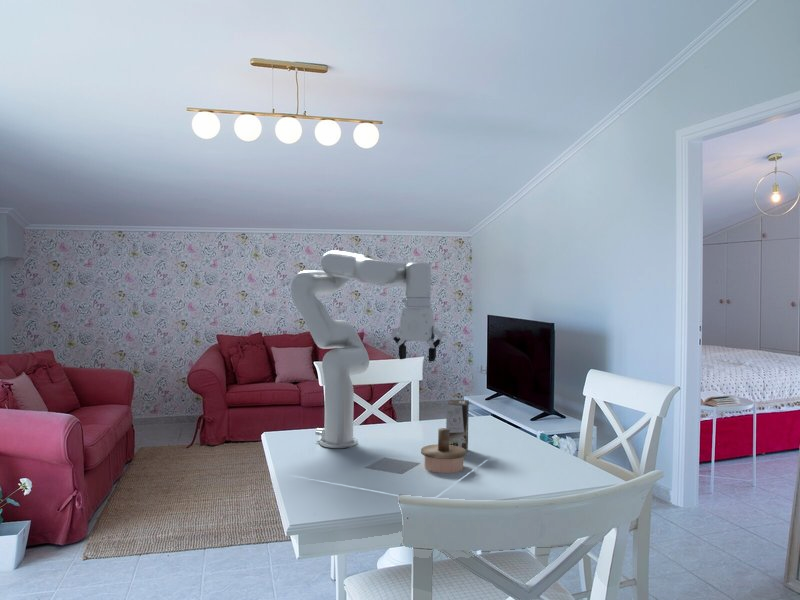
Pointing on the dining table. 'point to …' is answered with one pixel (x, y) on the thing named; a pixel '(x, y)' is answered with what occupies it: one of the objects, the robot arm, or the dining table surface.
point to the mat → (392, 465)
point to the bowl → (443, 465)
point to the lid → (443, 448)
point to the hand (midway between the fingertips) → (417, 360)
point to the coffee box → (458, 423)
